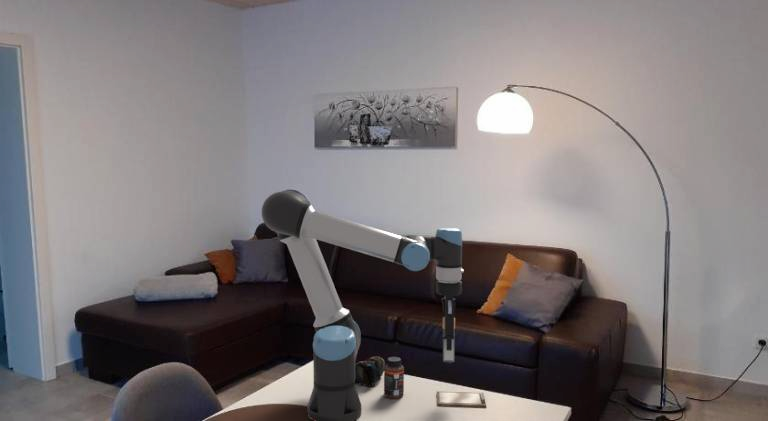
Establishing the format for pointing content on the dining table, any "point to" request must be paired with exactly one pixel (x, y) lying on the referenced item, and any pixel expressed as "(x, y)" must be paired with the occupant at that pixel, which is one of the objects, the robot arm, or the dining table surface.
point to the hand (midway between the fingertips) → (448, 357)
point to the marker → (443, 340)
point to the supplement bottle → (394, 378)
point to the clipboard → (461, 399)
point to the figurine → (369, 370)
